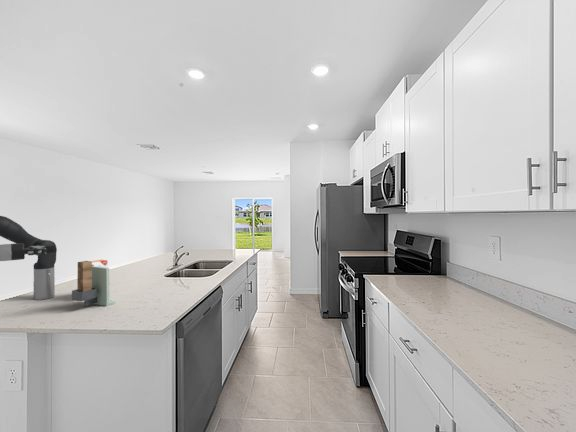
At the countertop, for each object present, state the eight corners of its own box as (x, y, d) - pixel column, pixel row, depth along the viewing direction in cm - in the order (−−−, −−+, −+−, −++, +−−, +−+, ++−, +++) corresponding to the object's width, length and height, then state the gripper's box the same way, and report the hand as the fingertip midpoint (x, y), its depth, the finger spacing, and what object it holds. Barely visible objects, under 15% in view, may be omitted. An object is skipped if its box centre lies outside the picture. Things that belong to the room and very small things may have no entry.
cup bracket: (67, 308, 151) (66, 269, 151) (95, 299, 165) (95, 264, 165) (87, 312, 145) (87, 272, 145) (115, 303, 159) (115, 266, 159)
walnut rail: (77, 296, 151) (77, 262, 150) (86, 294, 155) (86, 260, 154) (83, 298, 149) (82, 262, 148) (91, 295, 153) (91, 261, 152)
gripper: (11, 258, 138) (54, 254, 149) (10, 262, 128) (57, 258, 139) (10, 242, 138) (54, 239, 149) (9, 245, 127) (56, 242, 138)
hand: (55, 248), depth 144 cm, fingers open, 8 cm apart
